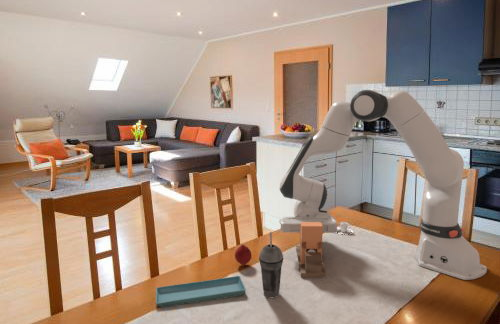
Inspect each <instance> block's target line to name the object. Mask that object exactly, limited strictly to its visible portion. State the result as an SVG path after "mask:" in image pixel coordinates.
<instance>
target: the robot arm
mask: <svg viewBox="0 0 500 324" xmlns="http://www.w3.org/2000/svg"><path fill="white" fill-rule="evenodd" d="M381 118H385V119H387V120H388V121H389V122H390V123H391V124H392V126H393V127H394V129H395V130H396V132H397V133H398V135H399V136H400V138H401V139H402V140H403V141H404V143H405V144H406V145H407V147H408V149H409V150H410V152H411V154H412V155H413V158H414V159H415V162H416V163H417V166H418V167H419V168H420V170H421V171H422V174H423V175H424V177H425V179H426V183H425V188H424V189H425V191H424V195H423V204H422V206H423V208H422V217H421V219H420V228H419V229H420V230H419V231H420V236H419V242H418V245H417V248H416V251H415V253H414V258H415V260H416V261H417V265H418V266H419V267H422V268H426V269H430V270H431V271H435V272H438V273H441V274H444V275H447V276H451V277H454V278H455V279H456V278H457V279H460V280H463V281H464V280H465V281H466V280H467V281H469V280H475V279H478V278H481V277H483V276H485V275H486V273H487V271H488V269H487V266H486V265H484V264H482V263H481V261H480V260H481V259H480V253H479V251H478V250H477V249H476V248H475V247H474V246H473V245H472V244H471V243H470V242H469V241H468V240H467V239H466V238H465V237H464V236H463V232H465V231H466V230H465V229H466V227H462V228H461V226H460V223H459V212H460V202H461V193H462V185H463V184H462V183H463V175H464V166H465V164H464V163H465V162H464V159H463V157H462V155H461V154H460V152H458V151H457V150H454V149H452V148H450V146H449V145H448V143H447V142H446V140H445V138H444V136H443V135H442V133H441V132H440V130H439V128H438V127H437V125H436V124H435V123H434V121H433V120H432V119H431V117H430V116H429V115H428V113H427V112H426V111H425V109H424V108H423V107H422V105H421V104H420V103H419V102H418V101H417V100H416V99H415V98H414V97H413V96H412V95H411V94H410V93H409V92H408V91H405V90H398V91H395V92H393V93H391V94H389V95H387V96H385V95H383V93H380V92H378V91H376V90H374V89H364V90H359V91H357V93H356V94H354V95H353V97H352V98H351V101H350V102H349V101H344V100H339V101H335V102H334V103H332V105H331V106H330V108H329V110H328V111H327V113H326V115H325V117H324V119H323V122H322V125H321V127H320V129H319V131H318V132H317V133H316V134H315V135H313V136H312V135H311V136H309V137H308V138H307V139H306V140H305V142H304V143H303V145H302V147H301V148H300V150H299V152H298V154H297V155H296V157H295V159H294V160H293V162H292V163H291V165H290V167H289V169H288V170H287V172H286V173H285V175H284V176H283V177H282V179H281V180H280V184H279V191H280V193H281V195H282V196H283V198H285V199H286V198H287V199H290V200H295V201H296V202H294V203H295V204H294V206H293V216H283V217H282V218H281V219H279V224H280V232H282V233H295V234H296V233H297V234H298V233H299V234H300V233H301V222H321V223H322V226H323V233H325V234H326V233H329V234H333V233H335V232H338V231H337V227H338V222H337V220H336V219H335V217H334V216H333V215H331V212H330V211H329V210H322V209H323V208H324V206H325V204H326V202H327V197H328V189H327V187H326V185H325V184H326V183H324V182H321V181H319V180H316V179H311V178H308V177H306V176H303V175H300V173H301V171H302V169H303V168H304V166H305V164H306V162H307V161H308V159H309V158H311V157H313V156H315V155H321V154H322V155H325V154H327V155H328V154H334V153H338V152H340V151H342V150H343V149H344V148H345V146H346V145H347V143H348V142H349V138H350V136H351V134H352V131H353V129H354V126H355V125H356V124H357V122H359V121H362V122H374V121H377V120H379V119H381ZM323 233H322V234H323ZM335 234H336V233H335Z"/></svg>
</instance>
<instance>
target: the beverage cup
mask: <svg viewBox="0 0 500 324" xmlns="http://www.w3.org/2000/svg"><path fill="white" fill-rule="evenodd" d="M272 237H273V235H272V232H269V244H267V245H265V246H263V247H262V248H261V250H260V251H259V256H258V260H259V264H260V265H259V266H260V271H261V282H262V290H263V296H264V297H266V296H267V297H266V298H268V297H275V298H277V297H278V296H279V295H280V289H281V288H280V286H281V276H282V266H283V262H284V255H283V252H282V249H281V248H280V247H279V246H278V245H277V244H276V245H275V244H273V238H272ZM276 296H277V297H276Z"/></svg>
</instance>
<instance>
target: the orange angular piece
mask: <svg viewBox="0 0 500 324" xmlns="http://www.w3.org/2000/svg"><path fill="white" fill-rule="evenodd" d="M299 246H300V259H301V264H305V252H306V249H316V252H321V255H322V256H323V226H322V223H321V222H301V243H300V242H299Z"/></svg>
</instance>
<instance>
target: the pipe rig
mask: <svg viewBox="0 0 500 324" xmlns="http://www.w3.org/2000/svg"><path fill="white" fill-rule="evenodd" d="M299 237H300V238H299V244H300V243H301V233H299ZM295 250H296V256H297V262H299V263H298V267H299V274H300V273H301V274H300V278H304V277H326V278H327V272H326V268H325V266H324V263H323V254H322V255H321V252H316V249H306V252H305V264H301V259H300V245H295Z"/></svg>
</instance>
